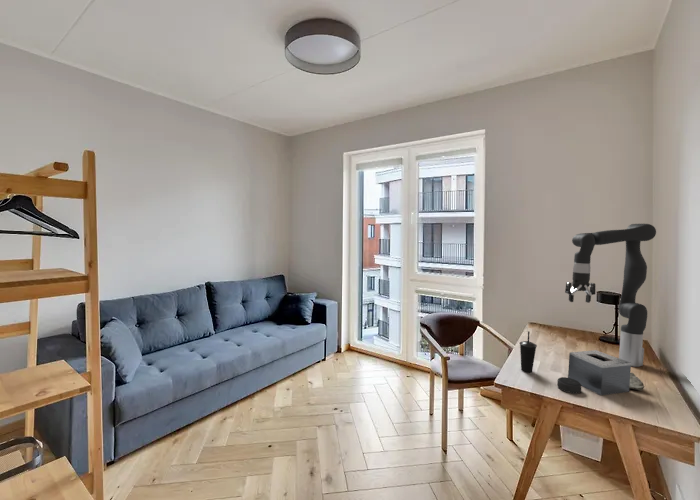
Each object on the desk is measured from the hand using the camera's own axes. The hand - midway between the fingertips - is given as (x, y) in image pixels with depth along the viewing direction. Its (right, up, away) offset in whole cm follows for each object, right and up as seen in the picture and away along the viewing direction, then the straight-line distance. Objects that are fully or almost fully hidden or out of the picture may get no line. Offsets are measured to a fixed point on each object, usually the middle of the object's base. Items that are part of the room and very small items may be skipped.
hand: (579, 302), depth 177 cm
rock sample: (+5, -35, -26) cm, 44 cm away
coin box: (-8, -34, -24) cm, 43 cm away
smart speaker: (-24, -35, -29) cm, 51 cm away
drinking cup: (-33, -33, -10) cm, 48 cm away
